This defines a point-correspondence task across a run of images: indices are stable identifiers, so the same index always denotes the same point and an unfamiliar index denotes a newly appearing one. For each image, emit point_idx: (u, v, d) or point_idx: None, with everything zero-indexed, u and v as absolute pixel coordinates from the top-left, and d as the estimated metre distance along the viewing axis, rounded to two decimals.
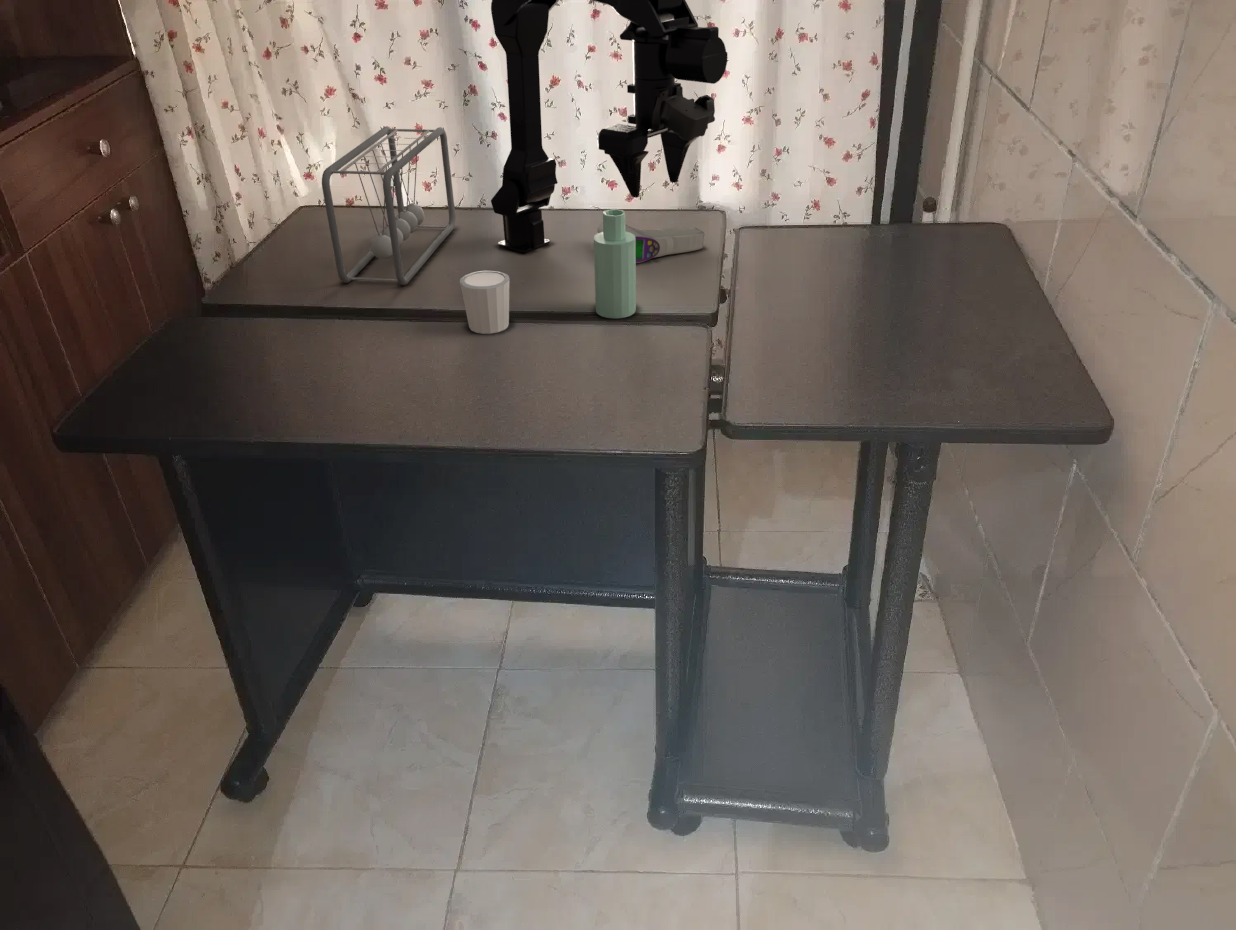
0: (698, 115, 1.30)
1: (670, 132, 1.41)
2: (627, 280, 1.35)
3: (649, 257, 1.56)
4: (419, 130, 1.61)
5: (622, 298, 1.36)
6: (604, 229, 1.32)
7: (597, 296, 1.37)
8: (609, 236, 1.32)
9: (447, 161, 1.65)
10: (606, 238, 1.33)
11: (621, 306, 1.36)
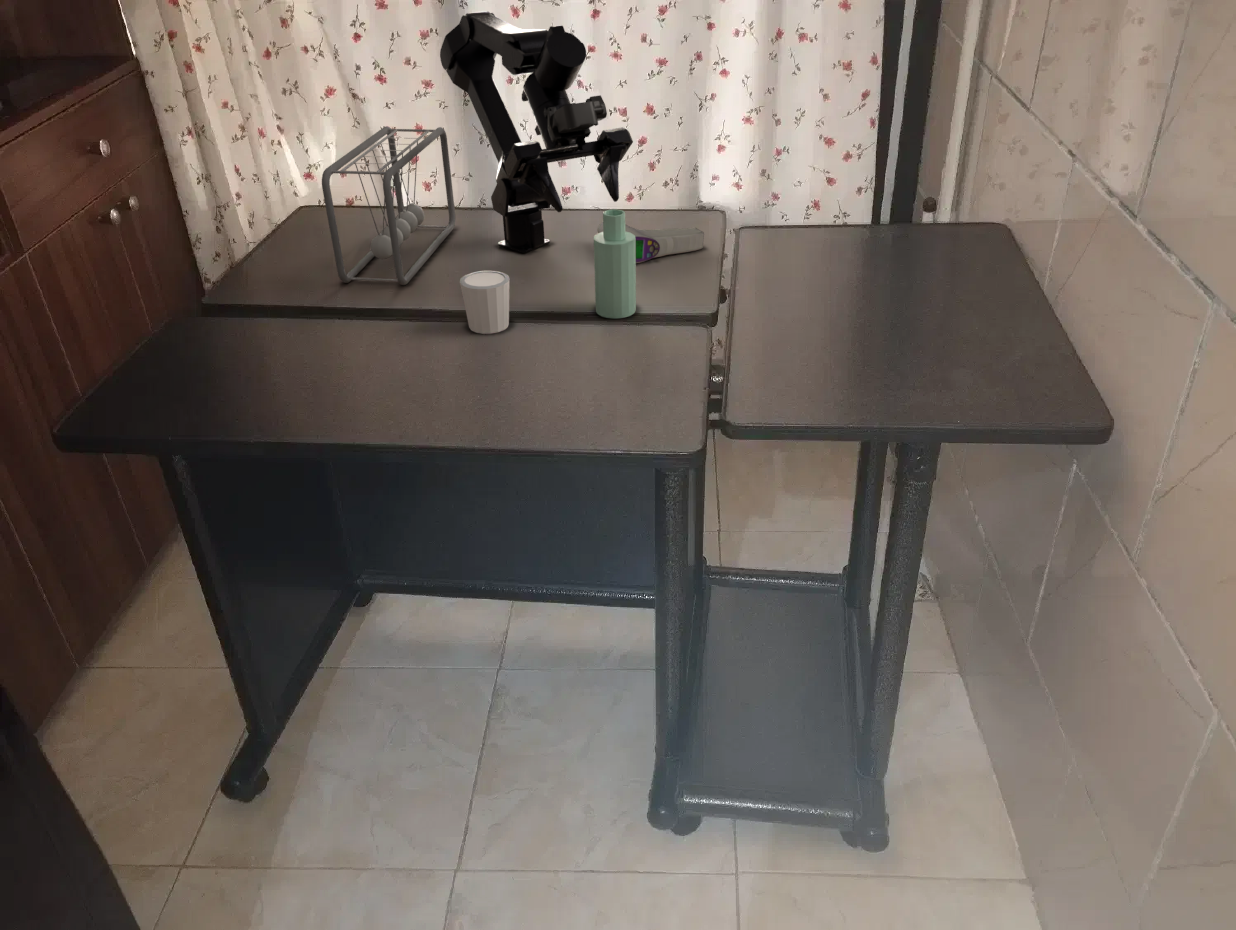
0: None
1: (601, 161, 1.43)
2: (627, 280, 1.35)
3: (649, 257, 1.56)
4: (419, 130, 1.61)
5: (622, 298, 1.36)
6: (604, 229, 1.32)
7: (597, 296, 1.37)
8: (609, 236, 1.32)
9: (447, 161, 1.65)
10: (606, 238, 1.33)
11: (621, 306, 1.36)
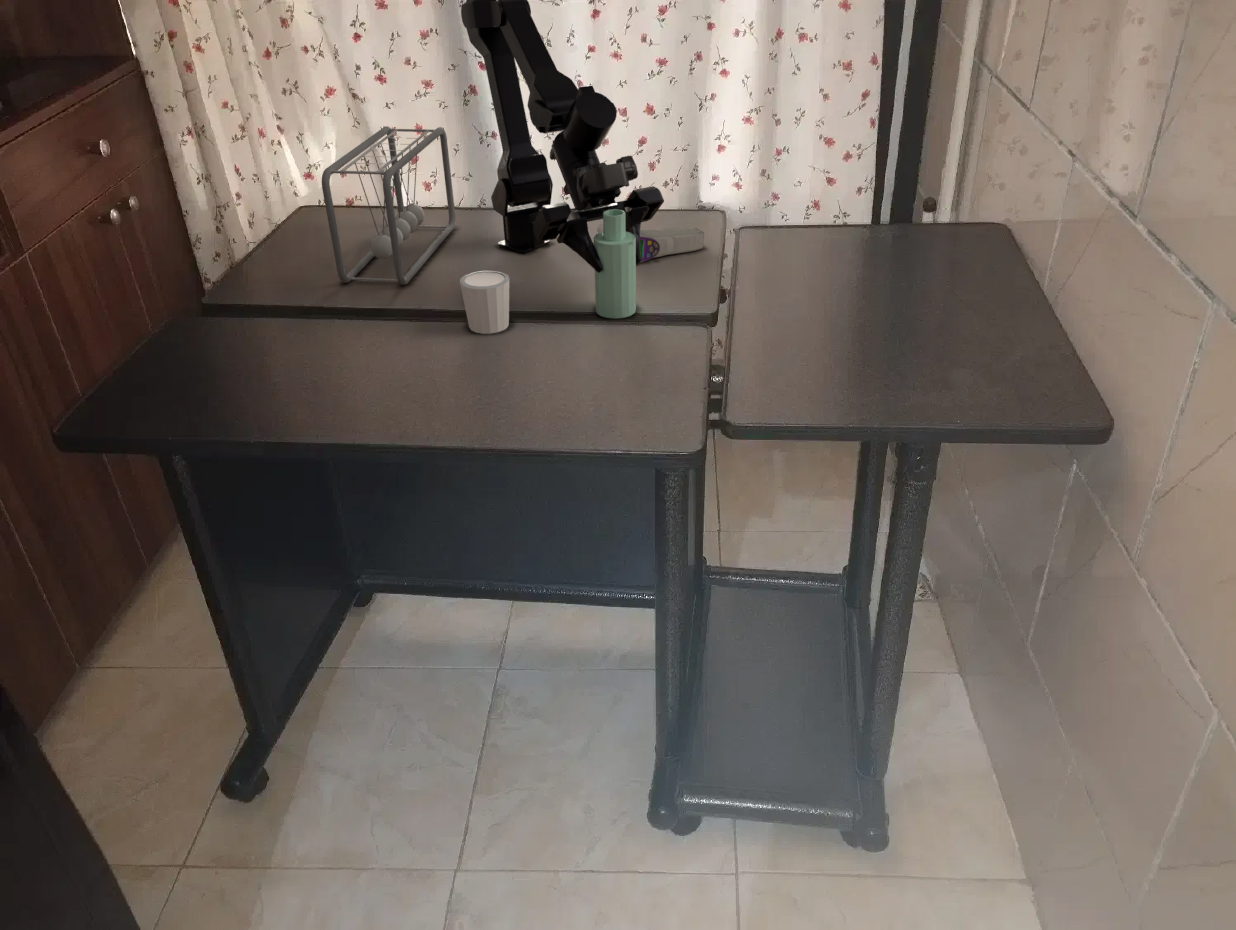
0: None
1: None
2: (627, 280, 1.35)
3: (649, 257, 1.56)
4: (419, 130, 1.61)
5: (622, 298, 1.36)
6: (604, 229, 1.32)
7: (597, 296, 1.37)
8: (609, 236, 1.32)
9: (447, 161, 1.65)
10: (606, 238, 1.33)
11: (621, 306, 1.36)
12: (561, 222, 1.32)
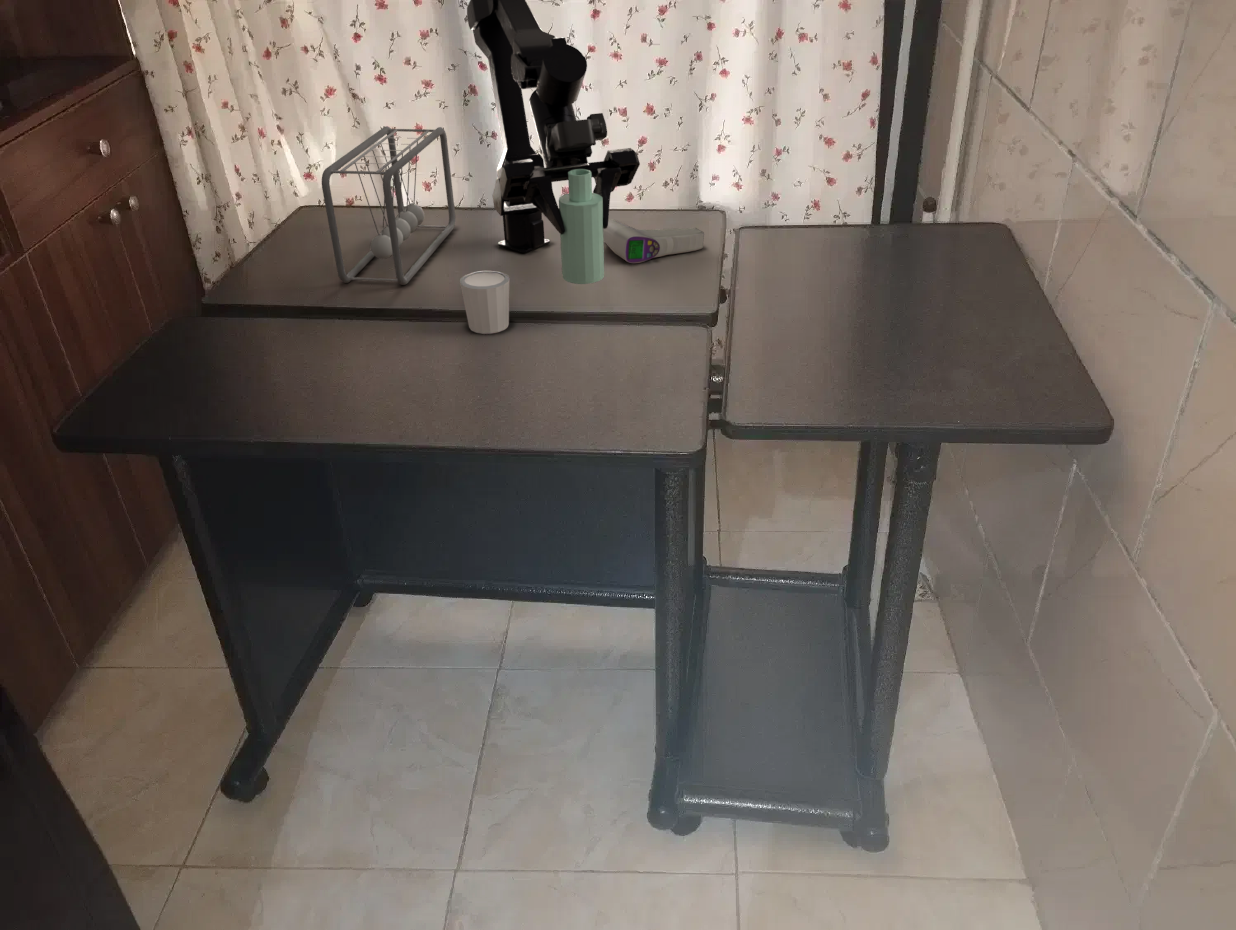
0: None
1: None
2: (591, 244, 1.29)
3: (649, 257, 1.56)
4: (419, 130, 1.61)
5: (586, 263, 1.30)
6: (569, 189, 1.27)
7: (562, 260, 1.32)
8: (573, 197, 1.27)
9: (447, 161, 1.65)
10: (570, 199, 1.27)
11: (585, 271, 1.31)
12: (525, 180, 1.28)
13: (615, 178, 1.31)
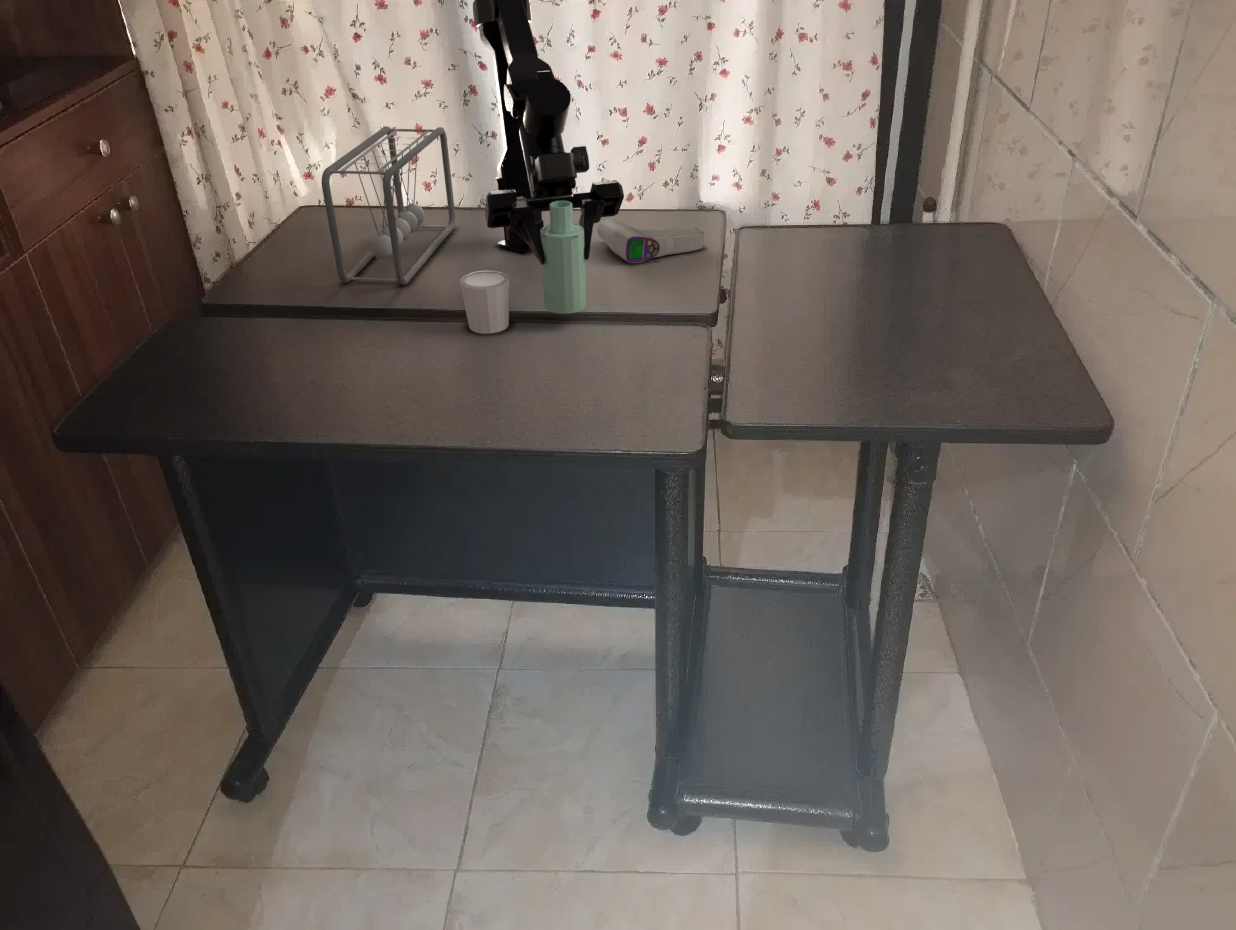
0: None
1: None
2: (571, 275, 1.30)
3: (649, 257, 1.56)
4: (419, 130, 1.61)
5: (566, 293, 1.31)
6: (550, 220, 1.28)
7: (544, 289, 1.33)
8: (554, 228, 1.28)
9: (447, 161, 1.65)
10: (551, 230, 1.28)
11: (565, 301, 1.32)
12: (509, 210, 1.29)
13: (599, 210, 1.32)
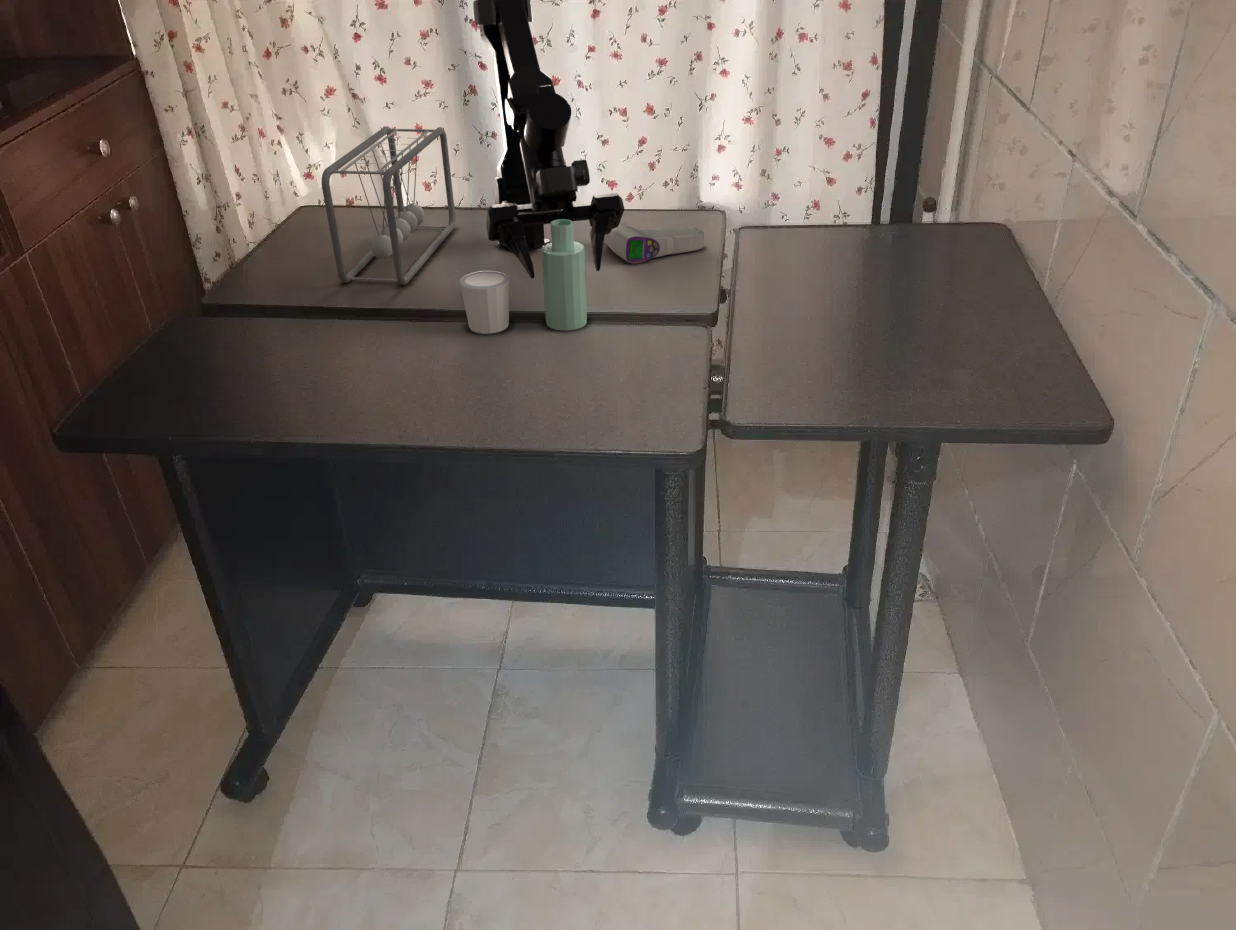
0: None
1: (592, 227, 1.35)
2: (572, 293, 1.31)
3: (649, 257, 1.56)
4: (419, 130, 1.61)
5: (566, 310, 1.32)
6: (551, 238, 1.30)
7: (545, 306, 1.34)
8: (555, 246, 1.29)
9: (447, 161, 1.65)
10: (552, 248, 1.30)
11: (566, 318, 1.33)
12: None
13: (610, 221, 1.33)
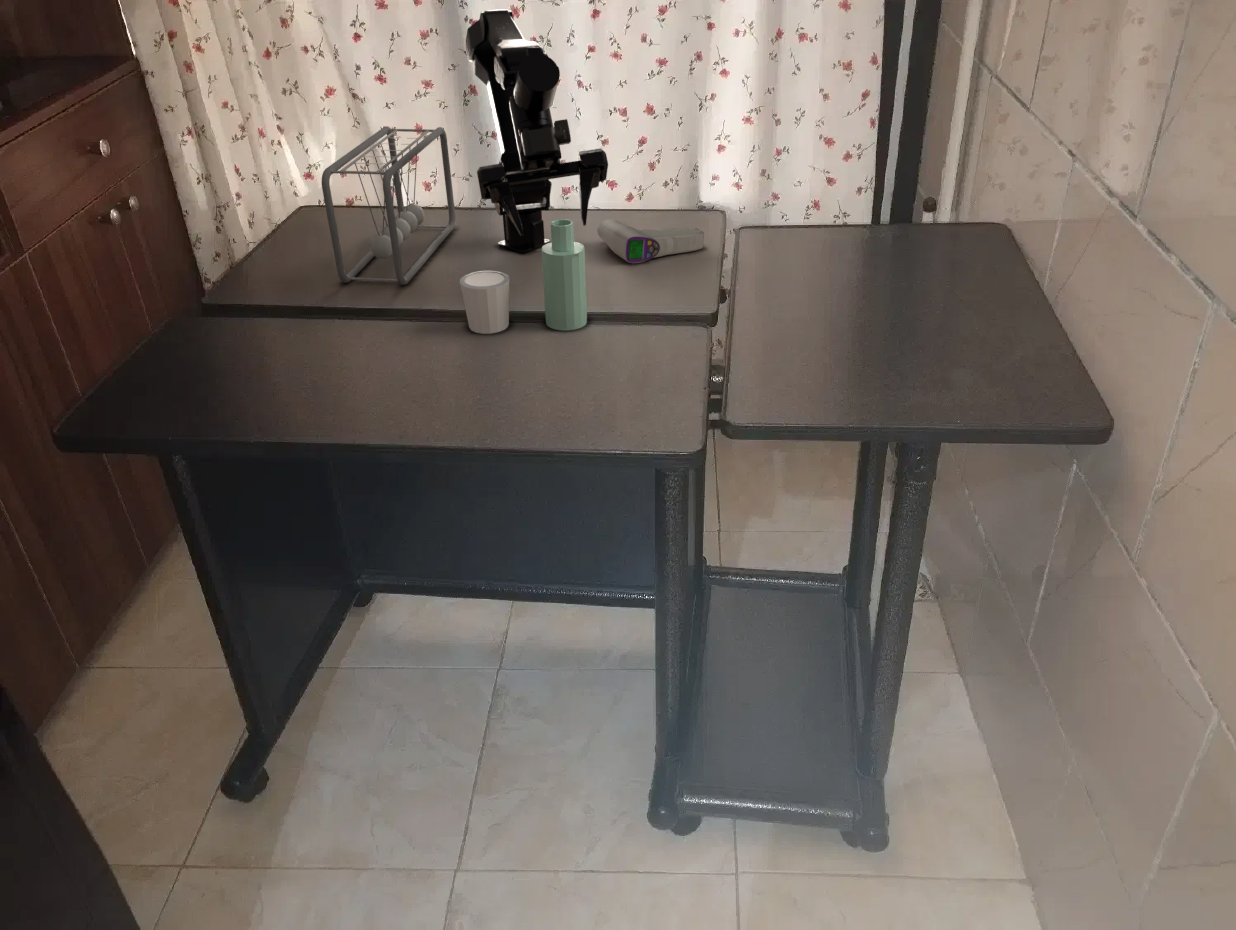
0: (535, 130, 1.31)
1: (580, 182, 1.40)
2: (572, 293, 1.31)
3: (649, 257, 1.56)
4: (419, 130, 1.61)
5: (566, 310, 1.32)
6: (551, 238, 1.30)
7: (545, 306, 1.34)
8: (555, 246, 1.29)
9: (447, 161, 1.65)
10: (552, 248, 1.30)
11: (566, 318, 1.33)
12: None
13: (595, 176, 1.39)
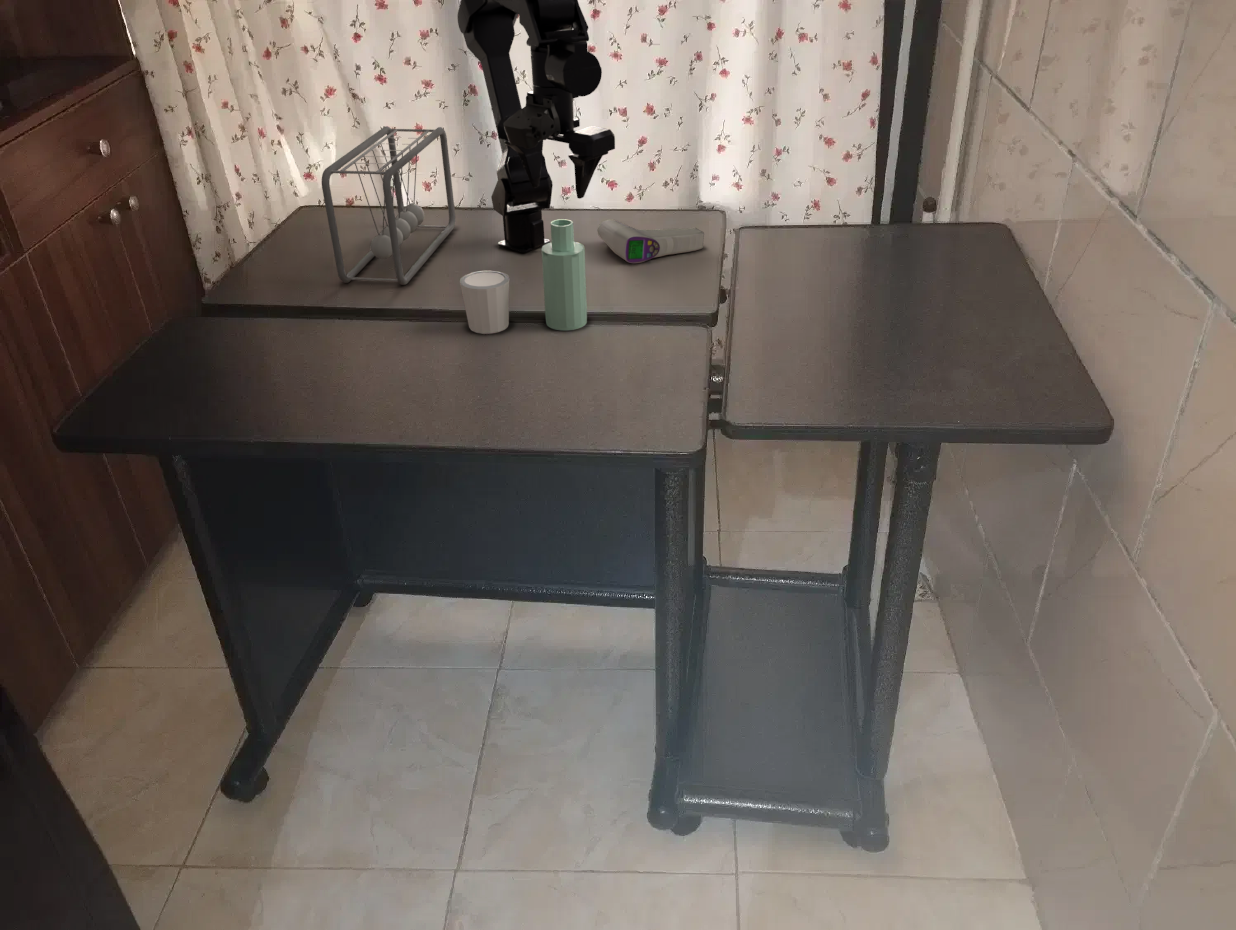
0: (513, 124, 1.34)
1: None
2: (572, 293, 1.31)
3: (649, 257, 1.56)
4: (419, 130, 1.61)
5: (566, 310, 1.32)
6: (551, 238, 1.30)
7: (545, 306, 1.34)
8: (555, 246, 1.29)
9: (447, 161, 1.65)
10: (552, 248, 1.30)
11: (566, 318, 1.33)
12: None
13: None
